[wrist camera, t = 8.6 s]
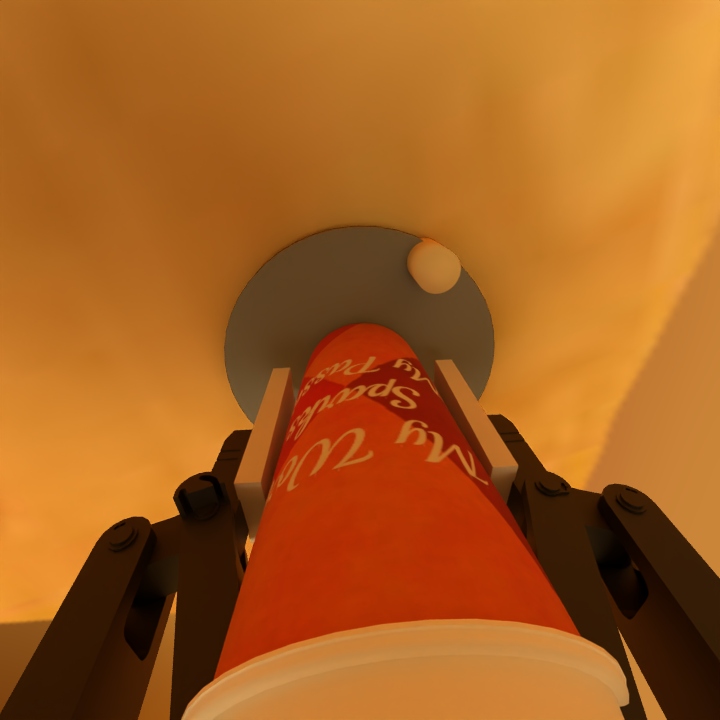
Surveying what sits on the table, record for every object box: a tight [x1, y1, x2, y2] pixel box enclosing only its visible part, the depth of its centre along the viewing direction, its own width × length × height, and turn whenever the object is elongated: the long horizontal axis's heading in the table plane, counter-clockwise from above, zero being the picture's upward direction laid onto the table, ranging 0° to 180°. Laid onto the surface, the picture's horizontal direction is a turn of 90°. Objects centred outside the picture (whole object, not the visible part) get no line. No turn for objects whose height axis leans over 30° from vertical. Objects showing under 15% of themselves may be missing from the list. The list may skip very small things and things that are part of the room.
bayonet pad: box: [224, 226, 494, 424], centre depth 17 cm, size 14×14×3 cm
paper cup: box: [181, 323, 629, 720], centre depth 11 cm, size 8×8×14 cm
